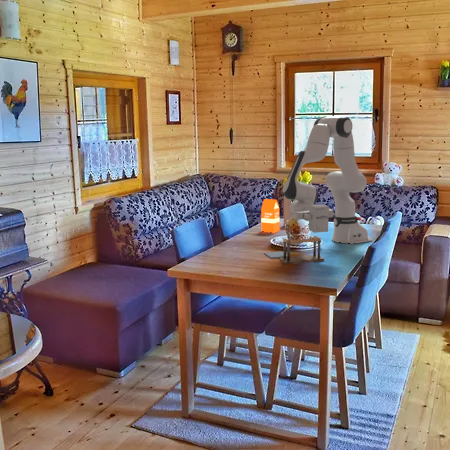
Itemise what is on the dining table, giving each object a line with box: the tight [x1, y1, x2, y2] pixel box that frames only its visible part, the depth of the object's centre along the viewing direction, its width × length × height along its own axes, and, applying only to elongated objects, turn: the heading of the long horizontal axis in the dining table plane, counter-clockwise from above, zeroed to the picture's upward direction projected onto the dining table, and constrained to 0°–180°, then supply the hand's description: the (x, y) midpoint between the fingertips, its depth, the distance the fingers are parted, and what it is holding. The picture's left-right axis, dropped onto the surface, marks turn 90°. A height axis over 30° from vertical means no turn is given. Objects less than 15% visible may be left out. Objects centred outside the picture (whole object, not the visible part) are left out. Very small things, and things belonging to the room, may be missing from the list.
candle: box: [283, 195, 291, 227], centre depth 357 cm, size 7×14×20 cm, turn 78°
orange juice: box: [260, 198, 280, 234], centre depth 342 cm, size 8×9×20 cm
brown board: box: [279, 254, 325, 265], centre depth 273 cm, size 20×8×1 cm, turn 105°
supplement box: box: [308, 204, 330, 234], centre depth 269 cm, size 7×7×13 cm
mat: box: [263, 250, 287, 259], centre depth 284 cm, size 10×10×1 cm
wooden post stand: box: [282, 235, 322, 261], centre depth 272 cm, size 17×6×10 cm, turn 105°
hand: (319, 216), depth 268 cm, fingers closed on supplement box, 7 cm apart
